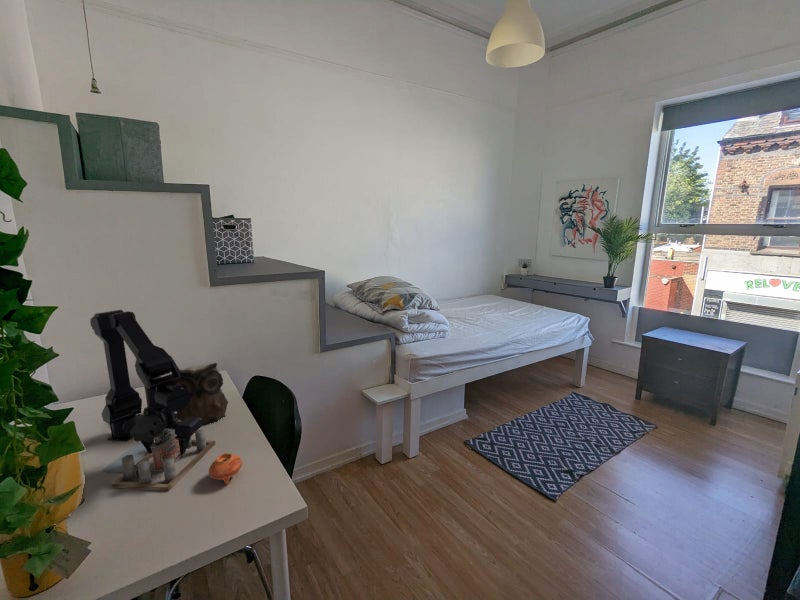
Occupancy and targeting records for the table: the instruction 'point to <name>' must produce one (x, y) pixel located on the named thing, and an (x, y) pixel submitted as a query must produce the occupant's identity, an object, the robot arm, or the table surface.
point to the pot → (225, 467)
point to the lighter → (165, 449)
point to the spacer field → (168, 466)
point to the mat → (136, 451)
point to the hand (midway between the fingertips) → (167, 453)
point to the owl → (203, 393)
